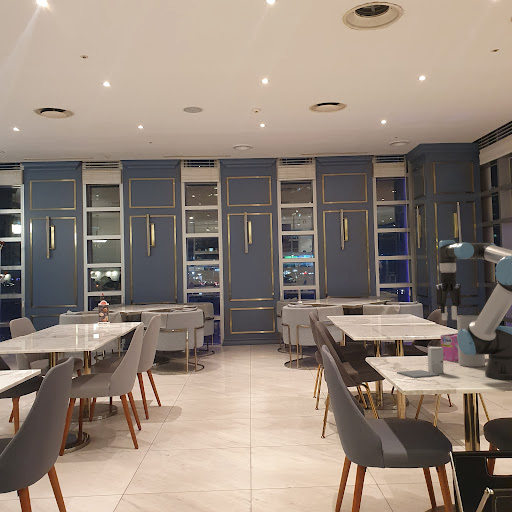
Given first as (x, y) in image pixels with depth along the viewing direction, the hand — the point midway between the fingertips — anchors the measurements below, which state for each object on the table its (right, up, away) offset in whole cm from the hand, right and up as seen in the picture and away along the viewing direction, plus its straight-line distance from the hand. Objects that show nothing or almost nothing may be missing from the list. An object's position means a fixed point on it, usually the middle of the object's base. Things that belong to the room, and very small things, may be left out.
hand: (449, 319), depth 251 cm
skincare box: (-8, -25, -4) cm, 27 cm away
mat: (-18, -25, -8) cm, 32 cm away
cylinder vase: (+17, -25, +15) cm, 34 cm away
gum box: (+19, -26, +37) cm, 49 cm away
